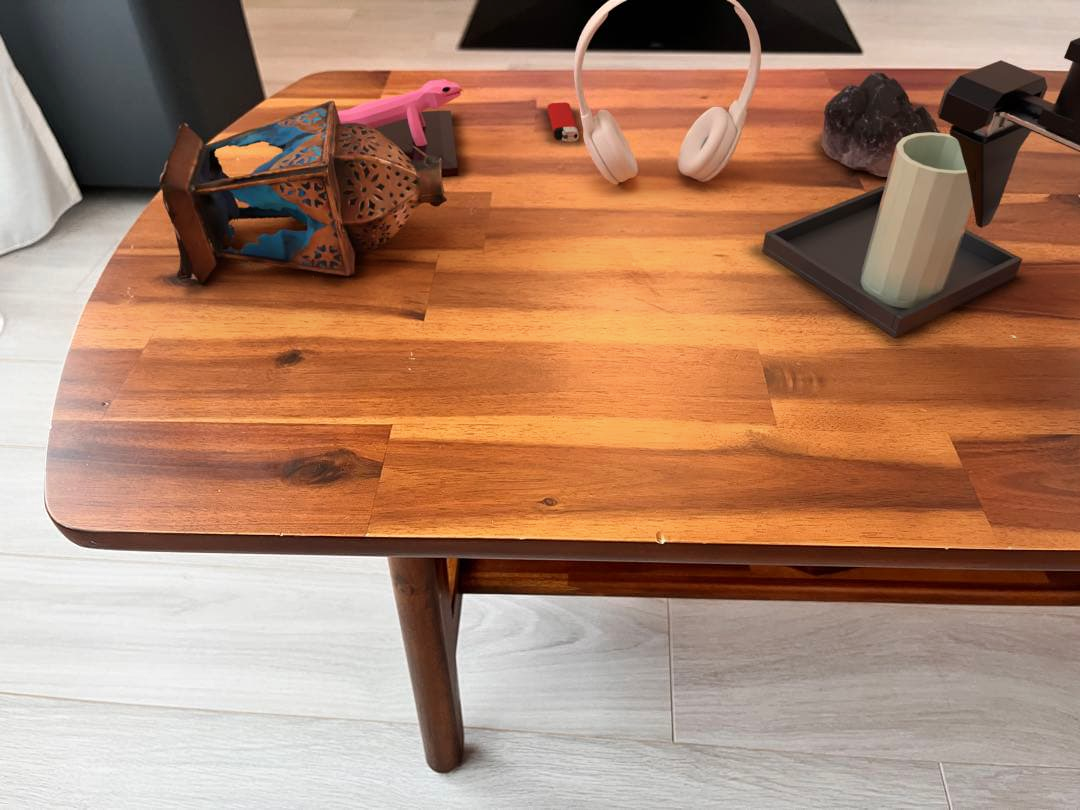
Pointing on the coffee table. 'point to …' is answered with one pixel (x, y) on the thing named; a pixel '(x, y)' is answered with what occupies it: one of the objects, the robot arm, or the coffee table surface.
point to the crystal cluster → (871, 124)
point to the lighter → (562, 122)
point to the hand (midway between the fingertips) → (1040, 255)
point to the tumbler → (918, 221)
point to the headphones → (705, 139)
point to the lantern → (296, 193)
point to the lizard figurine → (414, 122)
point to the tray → (840, 250)
